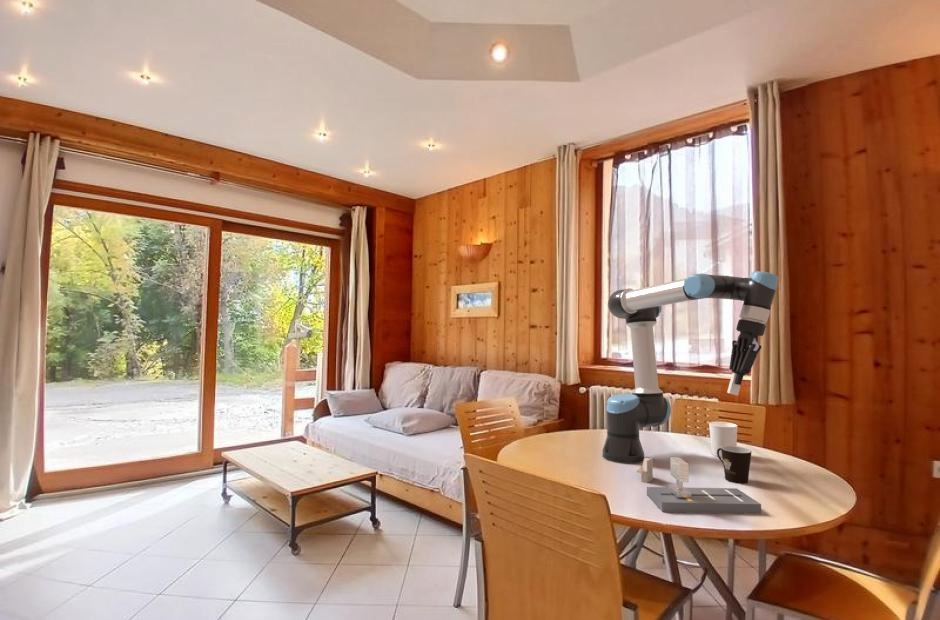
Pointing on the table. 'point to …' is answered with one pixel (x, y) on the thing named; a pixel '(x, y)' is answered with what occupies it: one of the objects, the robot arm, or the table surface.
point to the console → (704, 501)
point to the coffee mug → (735, 463)
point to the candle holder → (722, 436)
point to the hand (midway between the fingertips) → (732, 393)
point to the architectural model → (646, 470)
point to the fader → (679, 477)
